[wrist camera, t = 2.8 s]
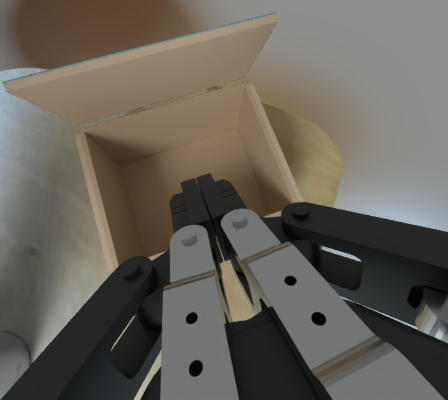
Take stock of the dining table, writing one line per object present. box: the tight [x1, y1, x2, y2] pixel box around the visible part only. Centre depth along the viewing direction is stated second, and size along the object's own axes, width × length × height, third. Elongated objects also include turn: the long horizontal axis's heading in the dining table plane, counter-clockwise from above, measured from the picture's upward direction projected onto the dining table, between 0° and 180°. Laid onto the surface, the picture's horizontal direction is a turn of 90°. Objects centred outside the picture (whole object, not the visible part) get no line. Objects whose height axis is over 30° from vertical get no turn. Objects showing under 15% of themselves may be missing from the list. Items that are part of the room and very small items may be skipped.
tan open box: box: [74, 82, 304, 272], centre depth 35 cm, size 19×23×12 cm
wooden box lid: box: [3, 12, 278, 124], centre depth 24 cm, size 12×21×1 cm
